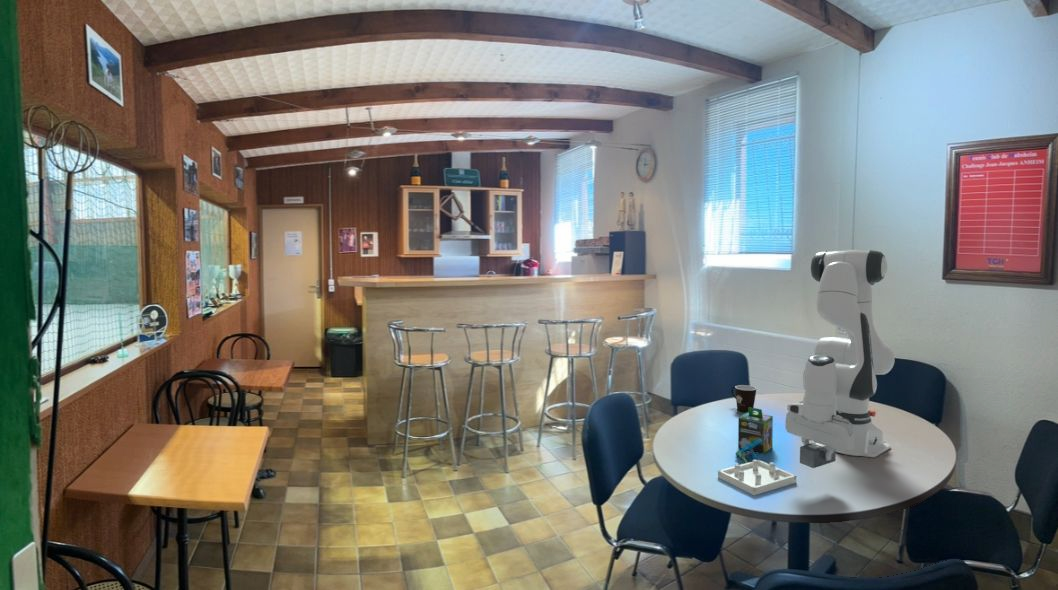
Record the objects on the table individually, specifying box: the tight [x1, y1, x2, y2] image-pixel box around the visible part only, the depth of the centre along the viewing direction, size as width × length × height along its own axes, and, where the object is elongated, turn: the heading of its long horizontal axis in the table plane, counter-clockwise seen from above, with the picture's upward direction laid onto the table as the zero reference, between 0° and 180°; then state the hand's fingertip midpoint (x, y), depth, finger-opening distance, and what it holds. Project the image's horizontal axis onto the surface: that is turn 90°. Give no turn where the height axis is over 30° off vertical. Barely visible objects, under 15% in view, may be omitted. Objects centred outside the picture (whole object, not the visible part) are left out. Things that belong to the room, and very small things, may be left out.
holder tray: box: [717, 459, 797, 496], centre depth 174 cm, size 18×14×4 cm
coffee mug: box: [730, 384, 757, 414], centre depth 245 cm, size 12×9×10 cm
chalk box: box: [737, 407, 774, 455], centre depth 200 cm, size 9×9×15 cm
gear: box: [735, 439, 762, 463], centre depth 190 cm, size 11×6×10 cm
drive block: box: [799, 441, 837, 469], centre depth 168 cm, size 10×4×5 cm, turn 117°
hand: (817, 456), depth 168 cm, fingers closed on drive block, 4 cm apart
